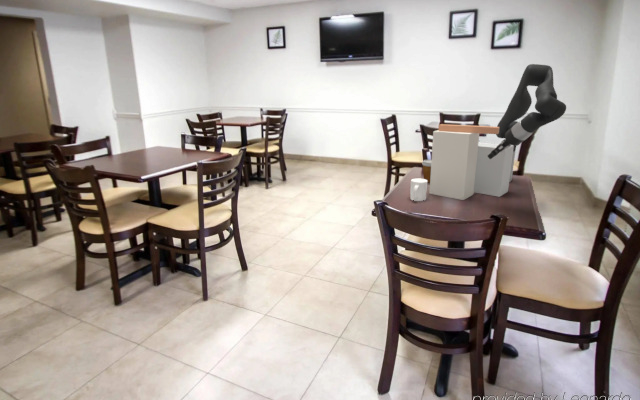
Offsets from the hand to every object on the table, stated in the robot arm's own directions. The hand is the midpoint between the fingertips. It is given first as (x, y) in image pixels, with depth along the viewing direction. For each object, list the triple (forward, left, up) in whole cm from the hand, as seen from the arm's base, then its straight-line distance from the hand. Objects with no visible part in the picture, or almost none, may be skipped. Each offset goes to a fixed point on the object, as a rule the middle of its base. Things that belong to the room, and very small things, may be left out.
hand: (493, 153), depth 176 cm
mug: (+17, -28, -24) cm, 40 cm away
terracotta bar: (-1, -13, +9) cm, 16 cm away
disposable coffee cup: (-16, -39, -23) cm, 48 cm away
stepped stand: (-9, -13, -23) cm, 28 cm away
